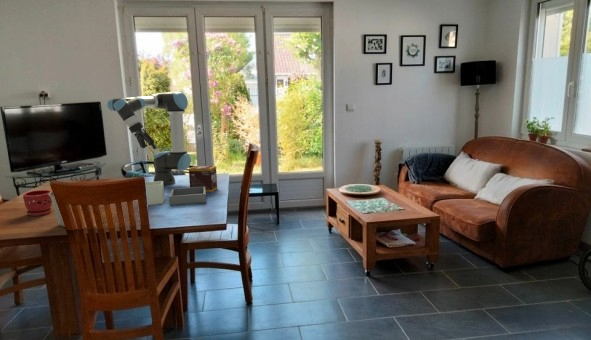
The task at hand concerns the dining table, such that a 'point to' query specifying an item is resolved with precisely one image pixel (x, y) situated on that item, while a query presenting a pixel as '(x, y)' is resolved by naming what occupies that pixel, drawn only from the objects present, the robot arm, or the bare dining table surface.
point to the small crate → (155, 192)
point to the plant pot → (38, 202)
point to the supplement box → (203, 177)
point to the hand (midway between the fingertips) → (154, 155)
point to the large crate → (187, 196)
